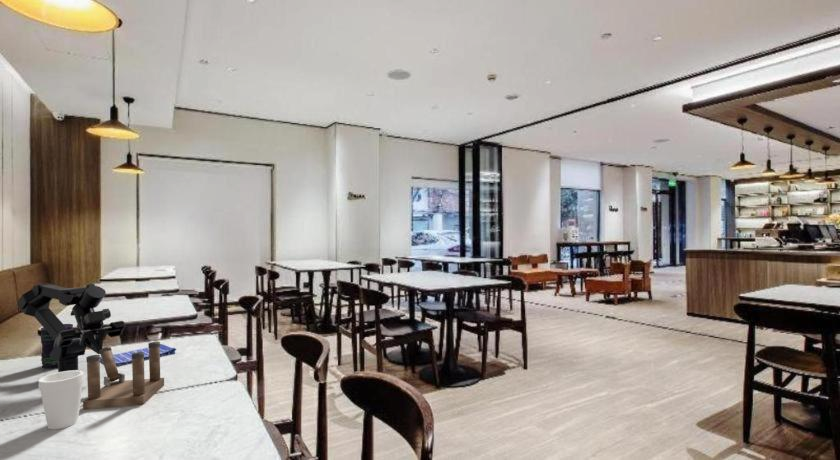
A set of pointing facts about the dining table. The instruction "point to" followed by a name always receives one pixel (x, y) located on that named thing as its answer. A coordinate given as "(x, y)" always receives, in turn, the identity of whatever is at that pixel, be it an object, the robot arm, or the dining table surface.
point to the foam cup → (61, 397)
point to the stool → (124, 382)
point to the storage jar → (49, 348)
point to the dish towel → (127, 356)
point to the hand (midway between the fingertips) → (100, 353)
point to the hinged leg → (109, 363)
